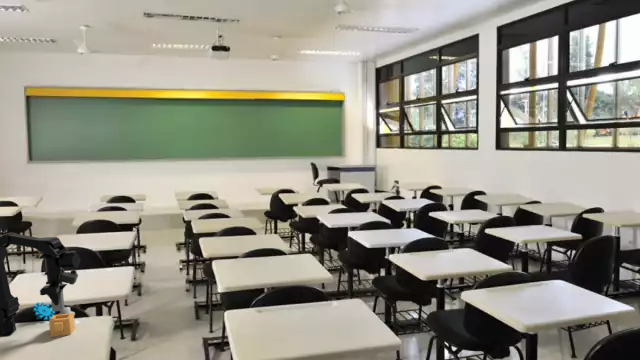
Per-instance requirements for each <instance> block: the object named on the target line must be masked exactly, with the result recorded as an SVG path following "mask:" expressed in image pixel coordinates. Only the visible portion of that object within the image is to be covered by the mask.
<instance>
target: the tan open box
mask: <svg viewBox="0 0 640 360" xmlns="http://www.w3.org/2000/svg"><path fill="white" fill-rule="evenodd" d="M75 316H76V312H75V311H72V310H71V307H70V306H66V307H65V309H64V310H63V311H59V313H58V314H54V316H53V317H52V318H51V319H50V320H48V323H49V324H48V325H49V334H50V335H49V336H50V338H51V337H61V336H70V335H72V333H73V332H74V331H75V329H76V325H75Z"/></svg>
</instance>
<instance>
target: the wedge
mask: <svg viewBox="0 0 640 360" xmlns="http://www.w3.org/2000/svg"><path fill="white" fill-rule="evenodd" d="M50 303H51V307H52V311H53V312H54V311H55V312H60V311H63V310H64V309H65V300H64V289H63V290H61V291H60V292H59V303H58V305H55V304H54V303H53V302H52V300H51V299H50Z"/></svg>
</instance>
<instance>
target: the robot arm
mask: <svg viewBox="0 0 640 360" xmlns="http://www.w3.org/2000/svg"><path fill="white" fill-rule="evenodd" d="M11 245H15V246H20V247H25V248H31V249H35V250H37V251H38V252H40V253H42V254H41V255H40V256H39V257H38V258H39V259H41V260H42V259H43V260H44V263H45V272H44V276H46V282H45V285H44V286H43V287H41V289H39V295H40V296H47V297H48V298H49V299H50V301H51V300H52V302H53V303H54V304H55V305H58V303H59V292H60V291H61V290H63V291H64V289H65V287H66V286H67V285H68V284H69V285H70V286H71V285H75V283H77V280H78V277H79V274H78V273H77V270H76V269H77V268H79V266H80V264H81V257H80V255H79V254H78V253H77V250H72V251H69V249H67V247H65V245H64V244H63V243H62V241H61V240H60V238H59V237H56V236H47V237H35V236H30V235H24V234H19V233H14V232H8V233H4V234H3V235H1V236H0V337H8V336H12V335H13V334H14V333H15V332H16V331H17V328H16V327H17V326H16V320H15V319H14V317H16V315H17V312H18V311H19V310H20V306H21V304H20V301H19V298H18V296H14V295H12V292H11V288H10V284H9V283H10V282H9V279H8V276H7V275H8V274H7V270H6V266H5V265H6V264H5V259H6V256H7V248H9V247H10V246H11ZM70 268H71V269H72V270H71V271H70V272H69V271H65V269H70ZM73 268H76V269H73Z"/></svg>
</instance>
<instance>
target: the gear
mask: <svg viewBox="0 0 640 360" xmlns="http://www.w3.org/2000/svg"><path fill="white" fill-rule="evenodd" d="M32 312H35V313H34V316H36V320H41V319H42V318H43V317H44V318H43V321H47V320H48V321H49V320H50V319H51V318H52V317H53V316H54V315H55V313H56V311H54V312H53V311H52V306H51V307H50V305H49V304H48V303H46V305H45V302H43V301H42V302H41V303H40V302H36V304H34V305H33V310H32Z"/></svg>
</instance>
